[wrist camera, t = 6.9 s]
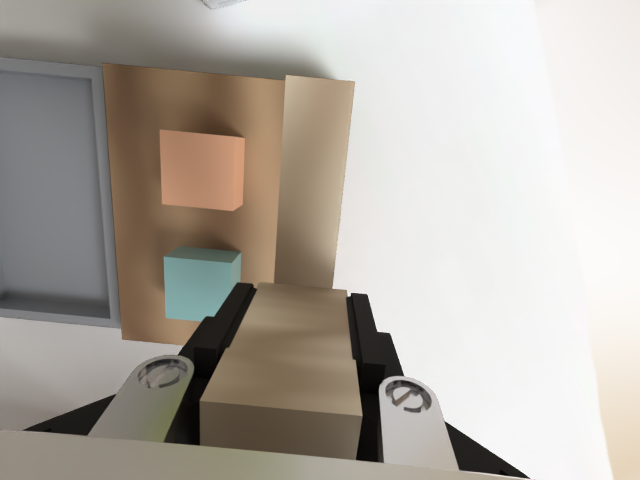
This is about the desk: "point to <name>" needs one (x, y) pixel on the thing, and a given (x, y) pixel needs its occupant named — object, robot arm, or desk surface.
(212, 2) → the tea box
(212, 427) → the scraper
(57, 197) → the box
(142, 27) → the desk surface
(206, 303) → the teal block
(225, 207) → the terracotta tile
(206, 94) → the brown wooden board
